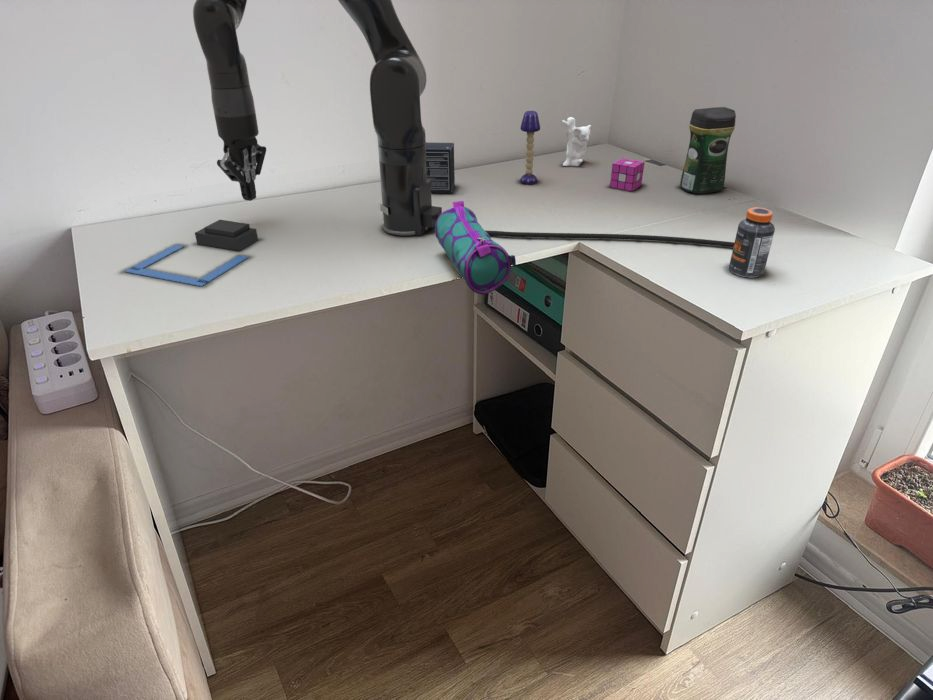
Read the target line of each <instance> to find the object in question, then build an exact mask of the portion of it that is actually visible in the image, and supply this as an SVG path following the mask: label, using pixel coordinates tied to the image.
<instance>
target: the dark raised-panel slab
mask: <svg viewBox="0 0 933 700" xmlns="http://www.w3.org/2000/svg"><path fill="white" fill-rule="evenodd" d="M194 236H195V240H196V244H197V245H199V246H200V245H201V246H206V247H212V248H218V249H224V250H231V251H236V252H240V251H242V250H244V249H245V248H247V247H249V246H251V245H252V244H254V243H256V242H258V240H259V237H258V231H257V228H255V227H254V228H253V227H250V224H249V223H247V222H239V221H233V220H227V219H218V220H216V221H214V222H212V223H210V224H209V225H207V226H205V227H203V228H201V229H199V230H197V231H195V232H194Z"/></svg>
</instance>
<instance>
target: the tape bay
mask: <svg viewBox="0 0 933 700" xmlns="http://www.w3.org/2000/svg"><path fill="white" fill-rule="evenodd" d="M184 247H185V246H184V245H180V244H174V245H171V246H170V247H168V248H166V249H164V250H162V251H160V252H159V253H157V254H154V255H153V256H151V257H149V258H147V259H145V260H143V261H141V262H140V263H137V264H136V265H134V266H132V267H129V268H128V269H126V270H124V273H128V274H131V275H132V274H133V275H138V276H144V277H148V278H155V279H159V280H165V281H168V282H169V281H170V282H175V283H179V284H180V283H181V284H184V285H185V284H186V285H191V286H195V287H196V286H197V287H204V286H205V285H207V284H208V283H210V282H211V281H213V280H215V279H217V278H218V277H219V276H221V275H223V274H224V273H226V272H228V271H229V270H231V269H233V268H234V267H236V266H237V265H239V264H240V263H243V262H244V261H245V260H247V259H248V258H249V256H245V255H238V256H236V257H234V258H232V259H231V260H229V261H228V262H225V263H224V264H222V265H221V266H219V267H217V268H216V269H214V270H212V271H211V272H210V273H208V274H206V275H204V276H202V277H201V278H195V277H190V276H185V275H179V274H174V273H168V272H164V271H158V270H153V269H147V267H149V266H151V265H153V264H154V263H156V262H158V261H160V260H162V259H164V258H166V257H168V256H170V255H171V254H173V253H175V252H177V251H179V250H181V249H183V248H184Z"/></svg>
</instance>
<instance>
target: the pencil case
mask: <svg viewBox="0 0 933 700" xmlns="http://www.w3.org/2000/svg"><path fill="white" fill-rule="evenodd" d="M486 231H487V230H485V229H484V228H483V227H482V225H481V224H480V223H479V221H478V218H477V216H476V213H475V212H474V211H473V210H472V209H470V208H469V207H466V206H465V202H464V200H456V201H452V207H451V208H449V209H446V210H444V211H442V214H441V215H440V216H439V217H438V219H437V221H436V224H435V226H434V235H435V237H436V239H437V241H438V243H439V245H440V246H441V248H442V249H443V251H444V252H445V254H446V256H447V257H448V259H449V260H450V261H451V263H452V265H453V266H454V267H455V269H456V270H457V272H458V274H459V275H460V276H461V277H462V278H463V280H464V281H465V283H466V285H467V287H468V288H469V289H470V290H471V291H472V292H473V293H475V294H478V295H483V296H484V295H487V294H488V295H489V294H490V293H492V292H494V291H495V290H497V289H498V288H500V287H501V286H502V285H503V284H504V283H505V282H506V281H507V280H508V278H509V276H510V273H511V270H512V267H514V268H516V267H517V263H516V255H513V254H511V255H510V254H509V253H508V251H507V250H506V249H505V248H504V247H503V246H502V245H500V243H498V242H496V241H494V240H493V239H492V238H491V236H489V235H488V233H487V232H486Z"/></svg>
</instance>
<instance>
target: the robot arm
mask: <svg viewBox="0 0 933 700" xmlns="http://www.w3.org/2000/svg"><path fill="white" fill-rule="evenodd" d="M247 1H248V0H195V2H194V4H193V8H192V18H193V23H194V30H195V33H196V36H197V39H198V42H199V45H200V48H201V50H202V51H201V52H202V53H203V56H204V59H205V61H206V70H207V75H208V80H209V85H210V92H211V93H210V95H211V104H212V110H213V114H214V119H215V120H214V121H215V125H216V130H217V135H218V137H219V138H220V139H221V140H222V142H223V148H222V149H223V154H224V155H223V157H222V158H221V159H217V160H216V165H217V166H218V168H219V169H220V170H221V171H222V172H223V173H224V174H225V175H226V177H228V179H230V181H231V182H236V183H237V182H238V183H239V189H240V193H241V197H242V199H243V200H244V201H250V202H251V201H254V200H255V199H257V190H256V189H257V188H256V183H255V182H256V179H257V176H260V175H261V173H262V169H263V164H264V161H265V158H266V153H267V147H266V146H262V145H260V144H258V139H257V138H256V137H258V135H259V134H260V133H259V125H258V119H257V114H256V113H257V112H256V106H255V100H254V95H253V92H252V89H251V85H250V84H251V83H250V77H249V71H248V66H247V65H248V64H247V61H246V58H245V56H244V54H243V53H242V52H241V50H240V45H239V41H238V34H237V30H238V28H239V27H240V25H241V23H242V20H243V17H244V15H245V10H246V7H247V3H248V2H247ZM337 1H338V2H339V4H340V6H341V7H342V8H343V9H344V10H345V12H346V14H348V15H349V18H350V19H352V21H353V22H354V23H355V25H356V26H357V27H358V29H359V30H360V32H361V33H362V36H363V37H364V40H365V41H366V43H367V46H368V47H369V50H370V53H371V55H372V58H373V60H374V63H375V64H374V65H373V66H372V69H371V72H370V76H369V96H370V105H371V116H372V124H373V129H374V132H375V134H376V138H377V139H376V140H377V151H378V164H379V177H380V180H379V181H380V191H381V194H380V195H381V203H379V207H380V209H379V210H380V211H381V212H382V221H383V223H382V225H383V230H384V231H385V232H386V233H387V234H390V235H394V236H402V237H404V236H406V237H407V236H408V237H409V236H422V235H423V234H424V233H426V232H427V231H428V230H429V229H431V228H435V224H436V221H437V219H438V217H439V216H440V215H441V214H442V213H443V207H442V206H435V205H433V204H432V202H433V200H432V193H431V181H430V180H427V168H426V142H427V140H426V139H427V136H426V129H425V127H424V126H423V123H422V122H423V121H422V109H421V96H422V94H423V93H424V91H425V89H426V86H427V71H426V67H425V66H424V65H425V64H424V63H423V61H422V60H421V57H420V55H419V54H418V51H417V50H416V49H415V47H414V45H413V43H412V41H411V39H410V38H409V36H408V34H407V32H406V30H405V28H404V27H403V24H402V23H401V21H400V19H399V16H398V14H397V11H396V9H395V7H394V4H393V1H392V0H337ZM485 231H486V232H487V233H488V235H489V236H490V237H491V236H493V237H494V236H495V237H508V238H511V237H512V238H540V239H541V238H542V239H543V238H544V239H589V240H590V239H592V240H593V239H594V240H595V239H596V240H597V239H598V240H628V241H629V240H630V241H631V240H632V241H651V242H652V241H653V242H669V243H681V244H682V243H683V244H695V245H706V246H716V247H726V248H733V247H734V243H735V241H725V240H716V239H715V240H714V239H704V238H694V237H681V236H680V237H679V236H668V235H667V236H665V235H650V234H649V235H648V234H647V235H646V234H625V233H623V234H622V233H587V232H586V233H585V232H584V233H581V232H577V233H575V232H534V231H533V232H531V231H530V232H527V231H526V232H525V231H524V232H523V231H503V230H485Z"/></svg>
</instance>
